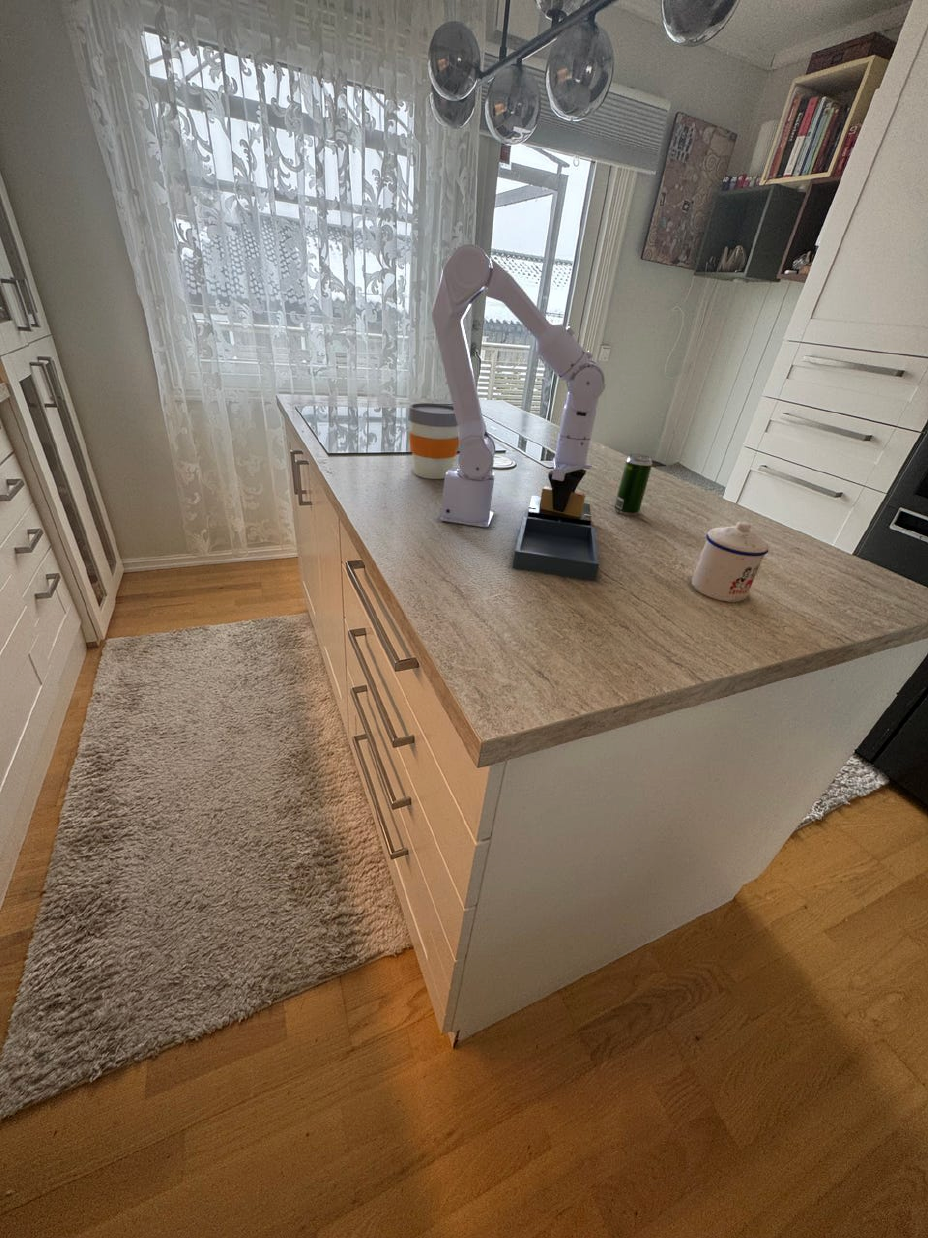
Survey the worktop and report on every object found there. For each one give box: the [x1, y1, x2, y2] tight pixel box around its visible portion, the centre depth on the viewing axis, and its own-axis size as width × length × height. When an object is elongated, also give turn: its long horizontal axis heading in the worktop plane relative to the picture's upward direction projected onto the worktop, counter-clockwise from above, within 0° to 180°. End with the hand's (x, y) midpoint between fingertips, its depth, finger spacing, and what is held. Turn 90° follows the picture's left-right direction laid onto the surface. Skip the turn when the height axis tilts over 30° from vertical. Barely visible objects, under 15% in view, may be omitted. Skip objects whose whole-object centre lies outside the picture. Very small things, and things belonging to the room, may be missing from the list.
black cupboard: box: [527, 495, 592, 526], centre depth 102 cm, size 14×12×4 cm
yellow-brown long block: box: [539, 485, 586, 517], centre depth 99 cm, size 8×2×4 cm, turn 65°
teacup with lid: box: [691, 521, 770, 603], centre depth 83 cm, size 12×9×12 cm
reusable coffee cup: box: [407, 402, 460, 480], centre depth 122 cm, size 13×13×15 cm
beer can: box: [614, 453, 653, 517], centre depth 111 cm, size 5×5×12 cm
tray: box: [512, 516, 600, 582], centre depth 91 cm, size 14×17×3 cm
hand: (560, 508), depth 100 cm, fingers closed
